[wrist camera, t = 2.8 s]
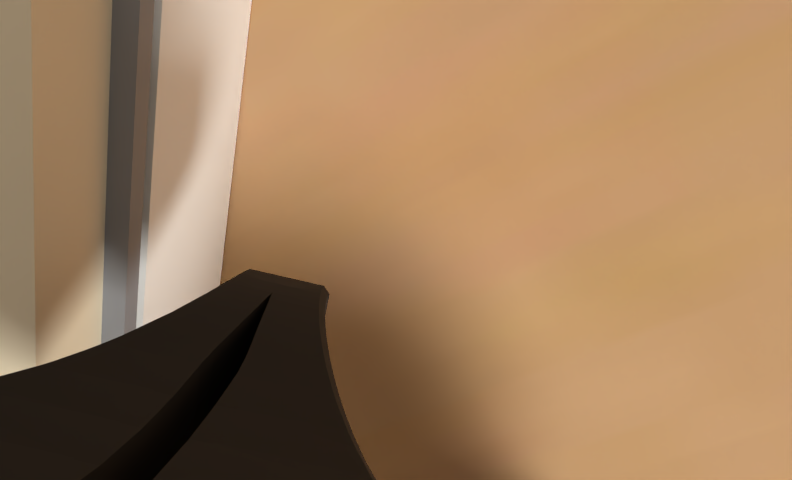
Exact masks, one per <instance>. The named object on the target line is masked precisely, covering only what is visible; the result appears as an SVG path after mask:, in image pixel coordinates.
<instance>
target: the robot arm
mask: <svg viewBox="0 0 792 480" xmlns="http://www.w3.org/2000/svg"><path fill="white" fill-rule="evenodd" d="M328 298H329V293H328V291H327V290H326V288H325V287H324V286H322V285H317V284H313V283H309V282H304V281H300V280H295V279H291V278H286V277H282V276H278V275H273V274H269V273H264V272H260V271H256V270H251V269H249V270H247V271H245V272H243V273H241V274H239V275H237V276H236V277H234V278H232V279H230V280H229V281H227V282H225V283H223V284H222V285H220V286H218V287H216V288H215V289H213V290H211V291H209V292H208V293H206V294H204V295H202V296H200V297H199V298H197V299H195V300H193V301H191V302H189V303H188V304H186V305H184V306H182V307H180V308H178V309H176V310H175V311H173V312H171V313H169V314H166V315H164V316H162V317H160V318H158V319H156V320H154V321H152V322H149V323H147V324H145V325H143V326H141V327H139V328H137V329H134V330H132V331H130V332H128V333H126V334H124V335H122V336H119V337H117V338H115V339H112V340H110V341H107V342H105V343H102V344H100V345H97V346H95V347H92V348H89V349H87V350H84V351H81V352H78V353H75V354H72V355H70V356H67V357H64V358H61V359H58V360H55V361H52V362H49V363H46V364H43V365H39V366H36V367H32V368H28V369H25V370H21V371H17V372H14V373H10V374H6V375H3V376H0V480H376V479H375V477H374V476H373V474H372V472H371V470H370V469H369V467H368V465H367V463H366V461H365V459H364V457H363V455H362V453H361V451H360V448H359V446H358V444H357V442H356V440H355V438H354V435H353V433H352V430H351V428H350V425H349V423H348V420H347V418H346V415H345V412H344V409H343V406H342V403H341V400H340V397H339V394H338V390H337V386H336V383H335V379H334V375H333V371H332V367H331V362H330V357H329V350H328V344H327V338H326V328H325V314H326V309H327V303H328Z"/></svg>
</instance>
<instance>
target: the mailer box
mask: <svg viewBox="0 0 792 480" xmlns="http://www.w3.org/2000/svg"><path fill="white" fill-rule="evenodd" d="M251 3H252V0H155V1H154V19H153V36H152V54H151V72H150V89H149V107H148V125H147V142H146V160H145V178H144V195H143V213H142V231H141V248H140V266H139V284H138V301H137V319H136V329H137V328H139V327H141V326H143V325H145V324H147V323H149V322H152V321H154V320H156V319H158V318H160V317H162V316H164V315H166V314H169V313H171V312H173V311H175V310H176V309H178V308H180V307H182V306H184V305H186V304H188V303H189V302H191V301H193V300H195V299H197V298H199V297H200V296H202V295H204V294H206V293H208V292H209V291H211V290H213V289H215V288H216V287H218V286H220V280H221V271H222V262H223V253H224V244H225V235H226V226H227V217H228V208H229V200H230V191H231V182H232V173H233V164H234V155H235V146H236V137H237V128H238V119H239V110H240V101H241V92H242V83H243V75H244V66H245V57H246V48H247V39H248V30H249V21H250V12H251Z"/></svg>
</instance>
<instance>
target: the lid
mask: <svg viewBox="0 0 792 480" xmlns="http://www.w3.org/2000/svg"><path fill="white" fill-rule="evenodd" d="M154 1H155V0H0V376H3V375H6V374H10V373H14V372H17V371H21V370H25V369H28V368H32V367H36V366H39V365H43V364H46V363H49V362H52V361H55V360H58V359H61V358H64V357H67V356H70V355H72V354H75V353H78V352H81V351H84V350H87V349H89V348H92V347H95V346H97V345H100V344H102V343H105V342H107V341H110V340H112V339H115V338H117V337H119V336H122V335H124V334H126V333H128V332H130V331H132V330H134V329H136V319H137V301H138V284H139V266H140V248H141V231H142V213H143V195H144V178H145V160H146V142H147V125H148V107H149V89H150V72H151V54H152V36H153V19H154Z"/></svg>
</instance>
